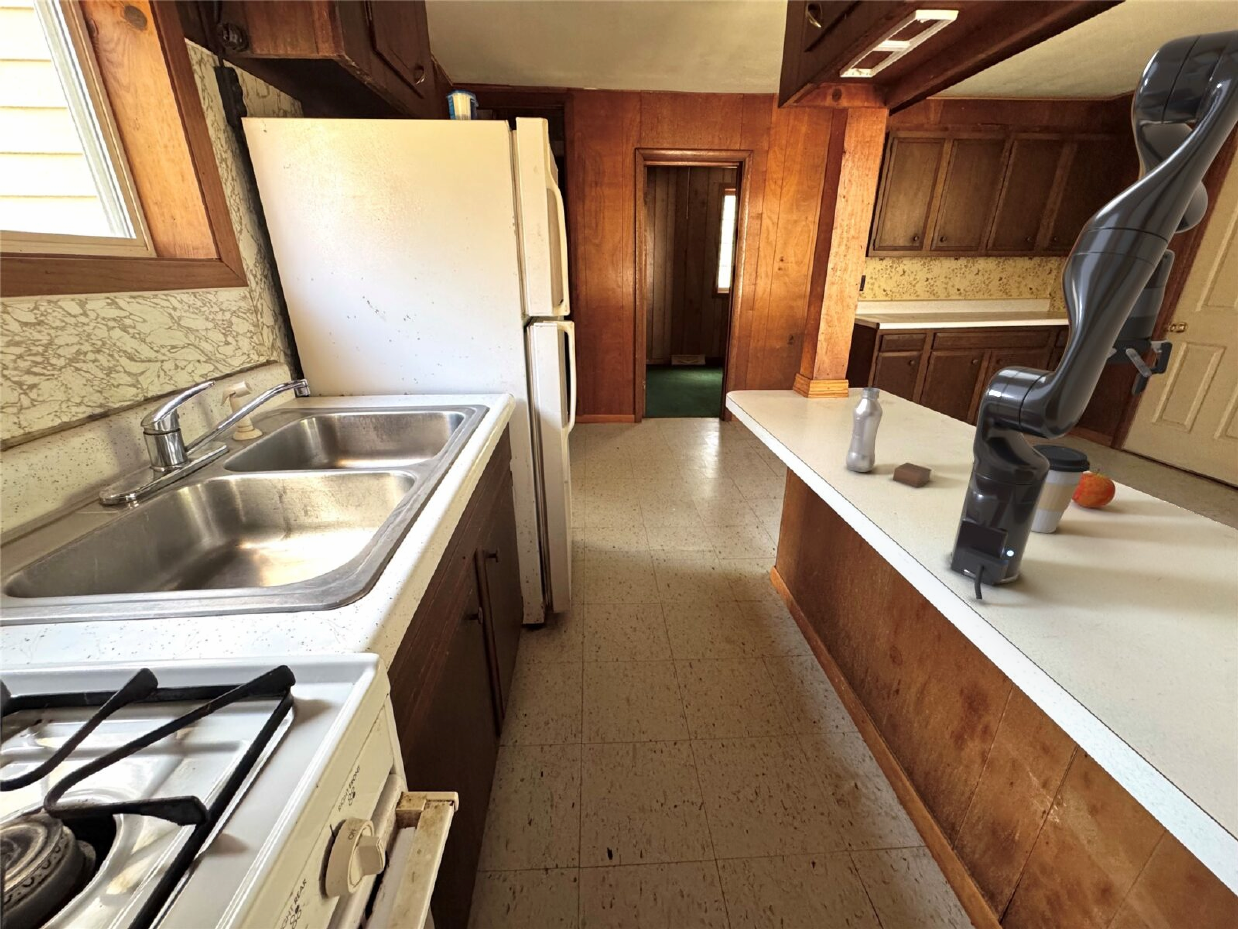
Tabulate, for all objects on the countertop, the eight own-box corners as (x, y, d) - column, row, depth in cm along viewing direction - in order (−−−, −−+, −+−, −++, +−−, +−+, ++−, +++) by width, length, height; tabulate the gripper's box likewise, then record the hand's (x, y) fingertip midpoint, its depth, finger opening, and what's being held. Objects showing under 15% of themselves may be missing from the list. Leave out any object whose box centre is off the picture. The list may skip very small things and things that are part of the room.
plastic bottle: (844, 473, 123) (856, 392, 115) (844, 463, 128) (855, 385, 121) (874, 476, 120) (887, 393, 113) (872, 466, 126) (885, 386, 119)
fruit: (1095, 516, 99) (1108, 478, 96) (1055, 502, 105) (1067, 466, 102) (1116, 509, 102) (1130, 472, 99) (1076, 495, 108) (1088, 460, 105)
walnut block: (916, 487, 114) (919, 475, 113) (892, 480, 118) (894, 468, 117) (928, 481, 117) (931, 469, 116) (904, 474, 121) (907, 462, 120)
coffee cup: (1050, 515, 100) (1073, 444, 95) (1079, 540, 92) (1106, 462, 86) (996, 512, 102) (1015, 442, 96) (1020, 536, 94) (1042, 460, 88)
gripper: (1083, 316, 95) (1061, 397, 103) (1191, 313, 88) (1160, 401, 95) (1077, 306, 101) (1057, 384, 108) (1179, 303, 93) (1150, 387, 101)
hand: (1105, 392), depth 102 cm, fingers open, 8 cm apart
